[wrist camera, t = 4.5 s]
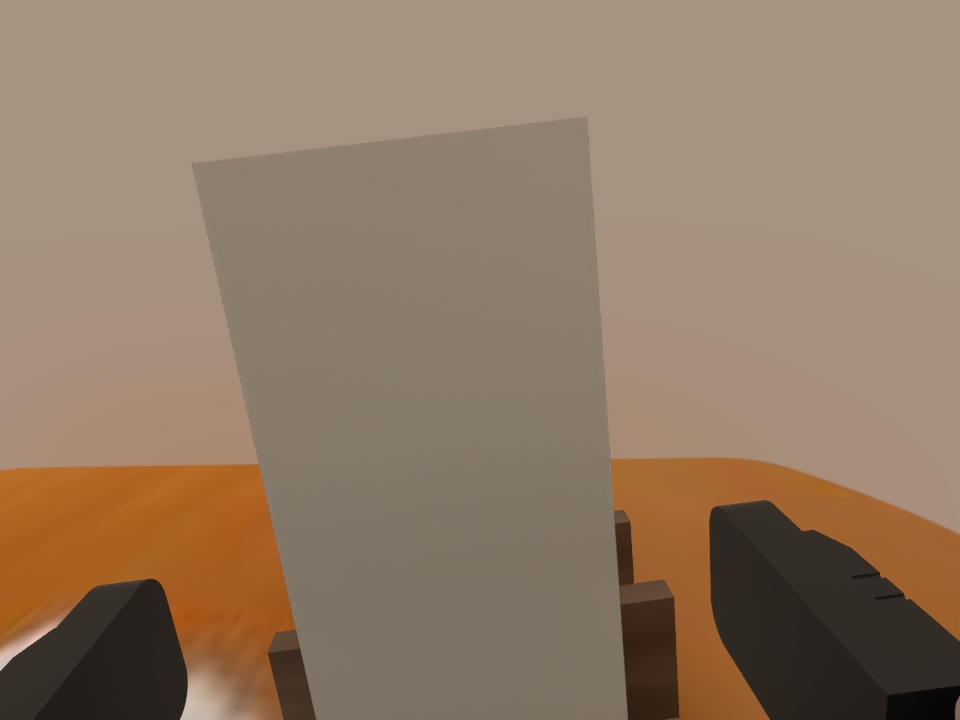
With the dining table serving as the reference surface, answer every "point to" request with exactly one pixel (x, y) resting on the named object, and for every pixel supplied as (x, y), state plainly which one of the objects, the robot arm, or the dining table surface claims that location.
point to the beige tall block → (431, 417)
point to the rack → (642, 635)
